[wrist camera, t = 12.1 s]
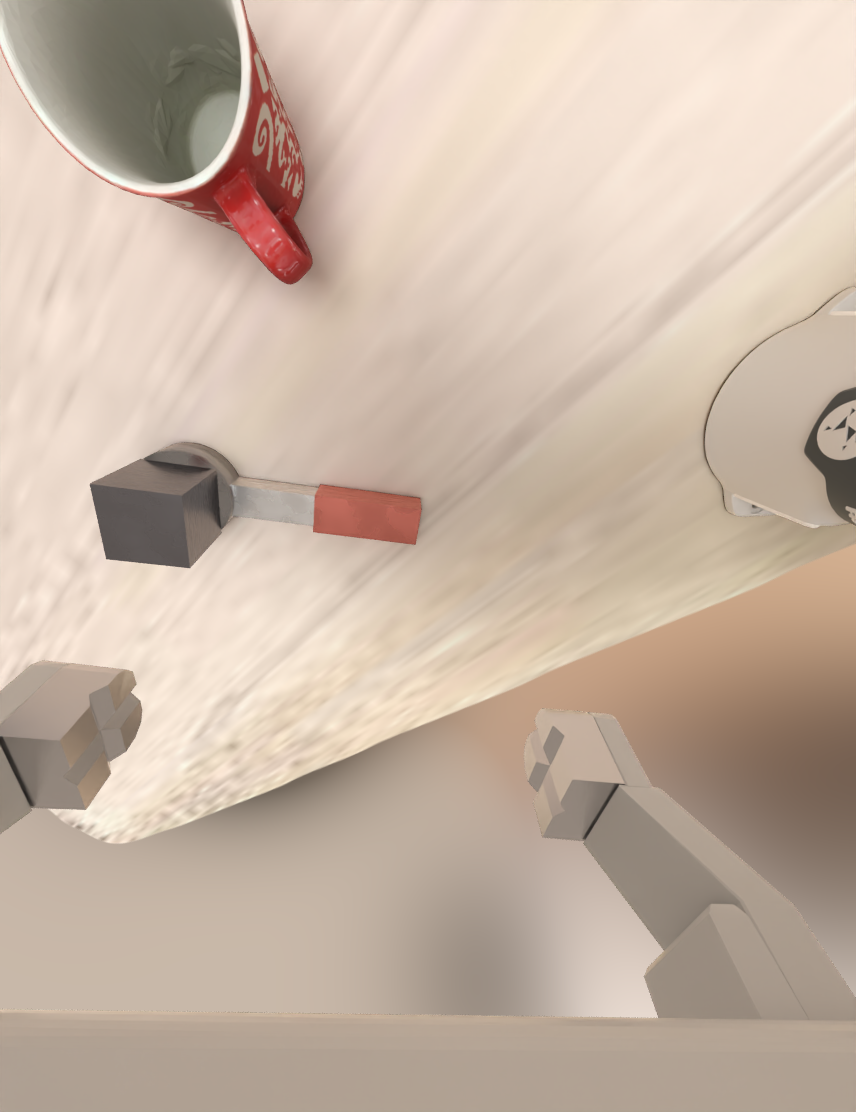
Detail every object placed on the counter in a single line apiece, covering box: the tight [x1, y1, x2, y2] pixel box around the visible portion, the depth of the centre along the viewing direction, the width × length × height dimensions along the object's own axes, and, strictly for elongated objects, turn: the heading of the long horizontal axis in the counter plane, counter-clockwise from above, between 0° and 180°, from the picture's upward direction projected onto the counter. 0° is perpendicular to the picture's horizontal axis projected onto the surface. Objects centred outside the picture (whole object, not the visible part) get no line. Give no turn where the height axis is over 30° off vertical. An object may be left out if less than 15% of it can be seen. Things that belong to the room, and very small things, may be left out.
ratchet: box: [144, 442, 422, 545], centre depth 34 cm, size 23×8×8 cm, turn 81°
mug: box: [0, 0, 313, 284], centre depth 22 cm, size 13×9×14 cm
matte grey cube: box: [90, 459, 221, 568], centre depth 31 cm, size 6×6×6 cm
